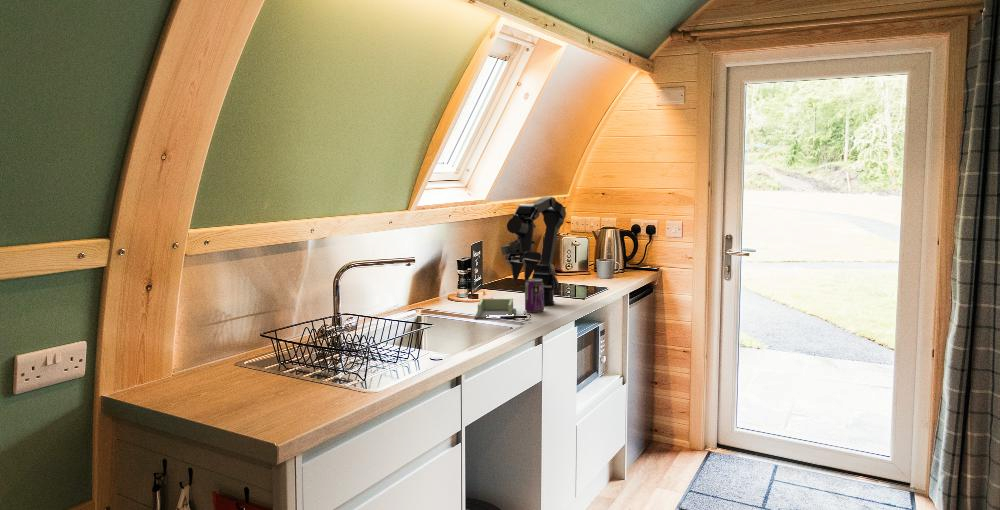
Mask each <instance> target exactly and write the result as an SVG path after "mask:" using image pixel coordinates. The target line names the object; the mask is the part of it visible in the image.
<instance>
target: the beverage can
mask: <svg viewBox="0 0 1000 510" xmlns="http://www.w3.org/2000/svg"><path fill="white" fill-rule="evenodd" d="M524 309H525V311H526V312H528V313H530V312H531V313H532V314H535V313H536V314H537V313H541V312H543V311H544V310H545V305H544V284H543V280H542V279H537V278H532V277H531V278H529V279H528V280H525V284H524Z"/></svg>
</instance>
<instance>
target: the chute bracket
mask: <svg viewBox="0 0 1000 510" xmlns="http://www.w3.org/2000/svg"><path fill="white" fill-rule="evenodd" d="M516 311H517V308H515V307H514V298H481V299H479V302H478V303H477V312H476V313H475V315H474V320H484V319H483V318H486V317H487V316H488V317H489V315H506V314H508V315H512V314H515V315H516V313H515V312H516ZM486 315H487V316H486Z"/></svg>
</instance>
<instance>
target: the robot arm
mask: <svg viewBox="0 0 1000 510" xmlns="http://www.w3.org/2000/svg"><path fill="white" fill-rule="evenodd" d="M540 213H541V214H542V217H543V222H544V225H545V232H544V237H543V244H542V249H541V252H538V251H532V249H533V245H535V244H536V243H535V241H534V230H535V228H536V227H537V226H536V224H535V223H534V221H536V220H537V219H538V218H539V217H540ZM566 215H567V212H566V209H565V207H564V206H563V204H562V203H560V202H559V201H558V200H556V199H555V197H553V196H543V197H540V198H539V199H538V200H535V201H533V202H531V203H519V205H518V206H517V208H516V210H515V212H514V214H513V215H512V218H510V219H509V220H508V222H507V223H506V228H507V231H508V232H509V233H510V234H513V235H516V236H517V237H516V239H514V241H512V242H509V243H508V244H507V245H504V246H503V245H502V246H500V250H501V255H502V256H505V257H504V261H506V263H507V264H508V265H509V266H510V269H511V273H512V274H511V275H512V279H513V281H514V282H517V281H518V278H519V277H520V273H521V272H522V269H523V268H524V270H523V271H524V272H523V273H524V281H526V280H528V279H530V277H531V279H532V278H537V279H542V280H543V284H544V306H555V300H554V290H558V289H559V283H560V282H559V279H558V278H557V277H556V269H555V268H554V266H553V263H554V258H555V257H554V256H555V250H556V246H557V245H556V244H557V237H558V234H559V233H558V232H559V229H560V228H561V227H562V225H564V222H565V219H566ZM523 266H524V267H523Z"/></svg>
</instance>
